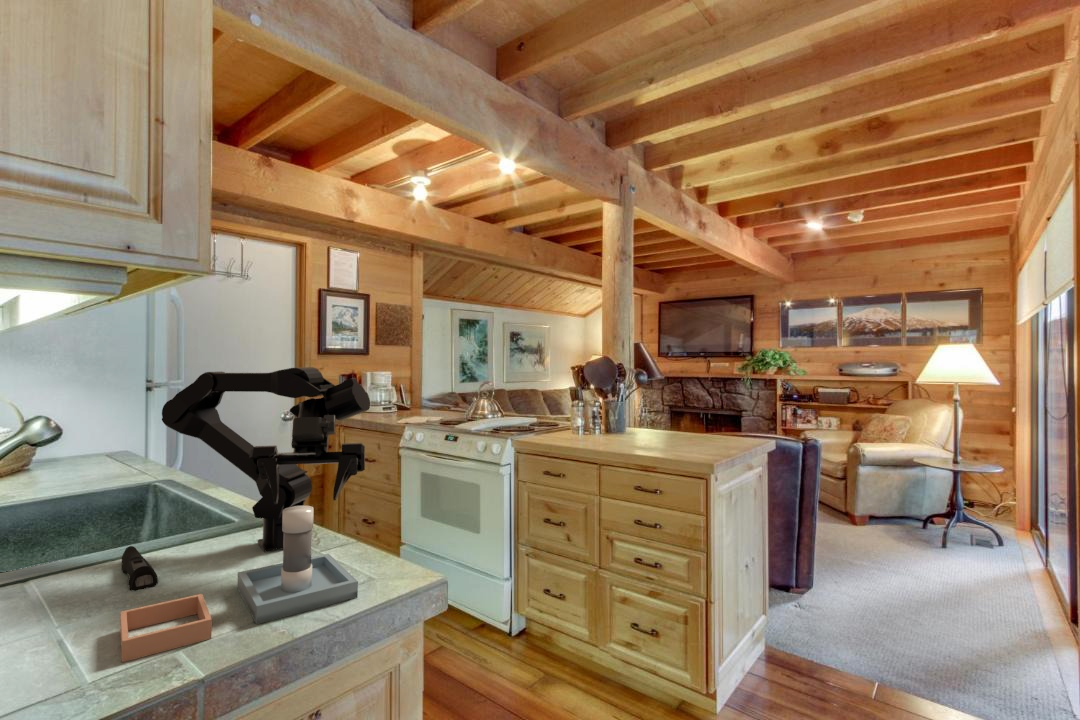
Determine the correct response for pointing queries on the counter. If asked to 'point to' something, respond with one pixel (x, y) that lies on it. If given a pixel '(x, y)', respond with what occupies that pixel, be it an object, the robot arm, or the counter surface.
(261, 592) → the parts tray
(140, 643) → the socket ring
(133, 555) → the electric trimmer
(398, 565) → the counter surface
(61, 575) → the counter surface
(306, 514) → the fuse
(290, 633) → the counter surface
